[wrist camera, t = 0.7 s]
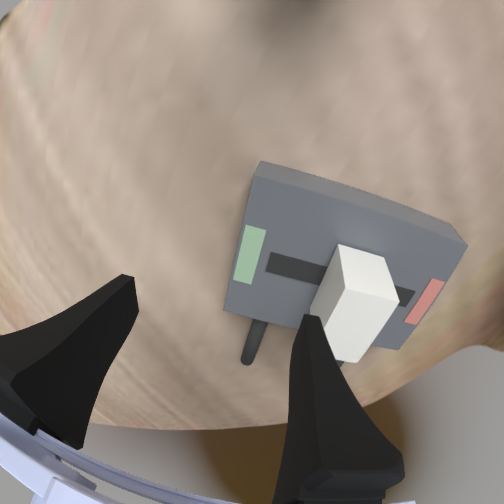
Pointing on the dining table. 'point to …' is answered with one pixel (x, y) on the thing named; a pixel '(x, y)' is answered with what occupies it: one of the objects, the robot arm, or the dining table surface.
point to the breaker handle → (354, 301)
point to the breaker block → (333, 249)
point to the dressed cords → (258, 342)
